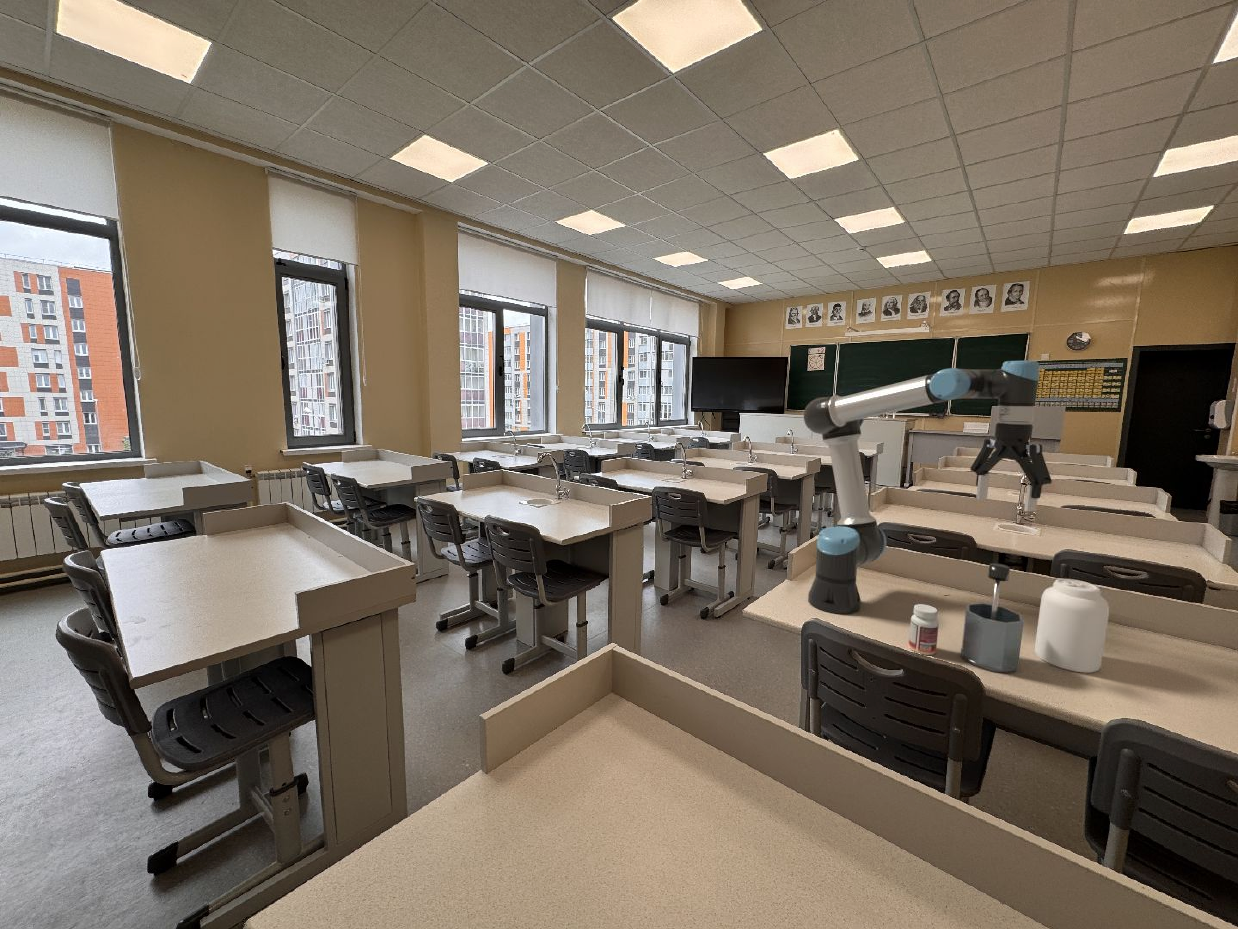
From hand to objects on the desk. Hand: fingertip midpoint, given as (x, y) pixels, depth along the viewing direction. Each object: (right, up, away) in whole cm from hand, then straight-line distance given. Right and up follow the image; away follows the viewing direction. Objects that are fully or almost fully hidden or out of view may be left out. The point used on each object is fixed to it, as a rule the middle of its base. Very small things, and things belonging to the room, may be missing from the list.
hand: (1004, 504), depth 136 cm
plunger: (-9, -37, -7) cm, 38 cm away
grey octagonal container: (-8, -38, -6) cm, 39 cm away
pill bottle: (-22, -38, -1) cm, 44 cm away
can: (+11, -38, -6) cm, 40 cm away
